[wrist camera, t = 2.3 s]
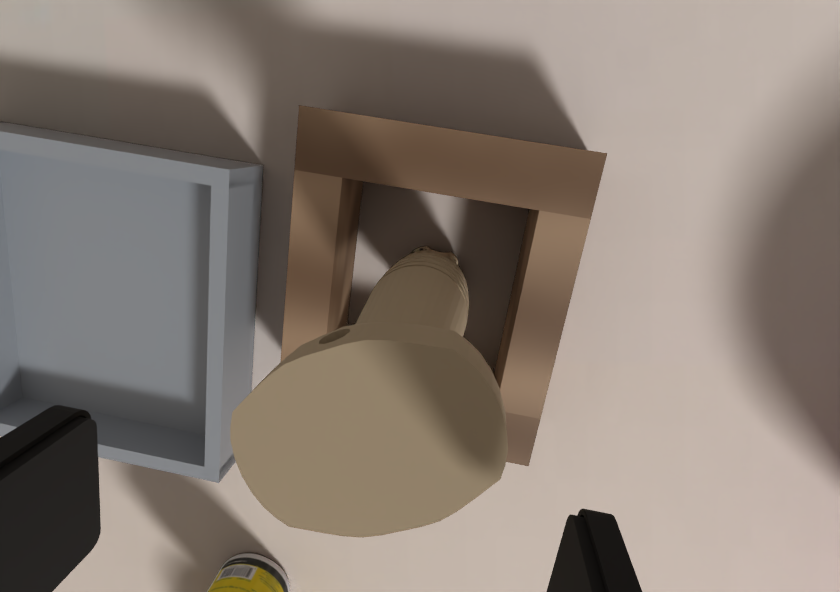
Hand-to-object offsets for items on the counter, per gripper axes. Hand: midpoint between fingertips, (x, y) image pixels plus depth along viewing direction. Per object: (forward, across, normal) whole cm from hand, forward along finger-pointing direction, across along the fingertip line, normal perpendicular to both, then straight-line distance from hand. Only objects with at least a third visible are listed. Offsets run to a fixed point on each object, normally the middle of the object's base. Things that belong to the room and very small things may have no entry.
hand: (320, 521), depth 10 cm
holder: (+17, -1, -1) cm, 17 cm away
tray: (+17, +15, +3) cm, 23 cm away
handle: (+17, -1, -1) cm, 17 cm away
